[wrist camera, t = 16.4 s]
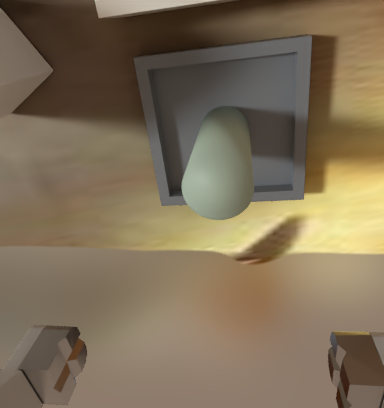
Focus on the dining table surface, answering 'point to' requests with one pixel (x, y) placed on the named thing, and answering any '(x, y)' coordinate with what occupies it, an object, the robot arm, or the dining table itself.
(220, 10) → the dining table surface
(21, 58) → the milk carton
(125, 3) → the white open box
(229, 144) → the dowel pin
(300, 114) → the tray
